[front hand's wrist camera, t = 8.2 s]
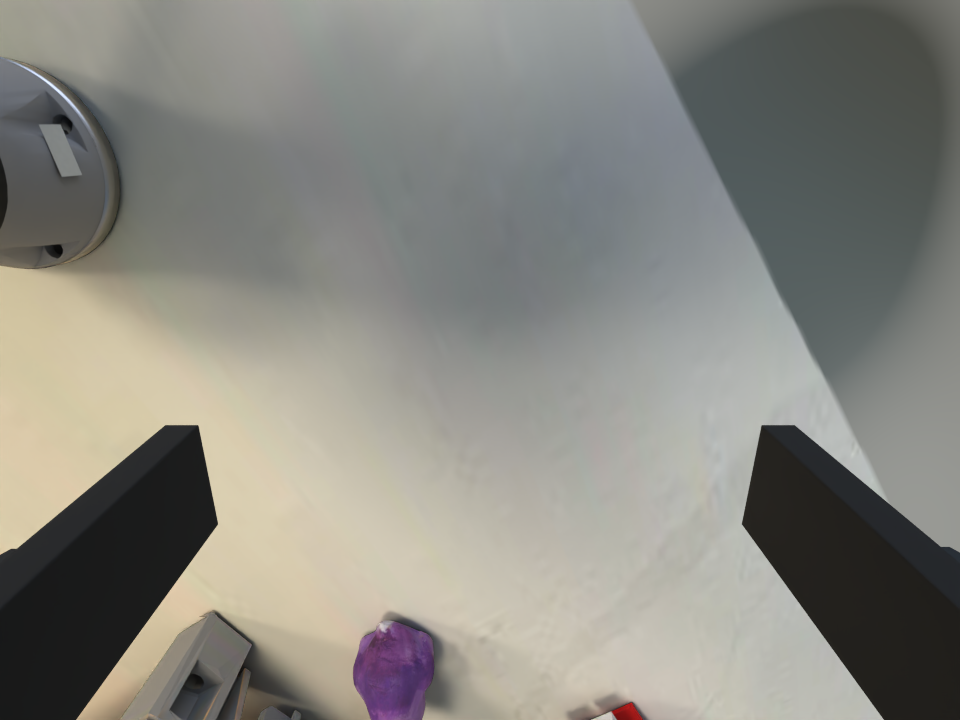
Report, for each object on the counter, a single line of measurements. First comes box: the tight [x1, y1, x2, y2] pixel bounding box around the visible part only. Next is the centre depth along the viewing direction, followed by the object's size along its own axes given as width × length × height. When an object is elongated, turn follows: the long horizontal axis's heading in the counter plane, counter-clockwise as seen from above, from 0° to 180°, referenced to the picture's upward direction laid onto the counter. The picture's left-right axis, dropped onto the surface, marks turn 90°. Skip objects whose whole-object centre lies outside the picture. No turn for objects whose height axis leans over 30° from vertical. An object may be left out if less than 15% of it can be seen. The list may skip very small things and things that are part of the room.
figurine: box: [353, 621, 434, 720], centre depth 52 cm, size 9×10×15 cm
